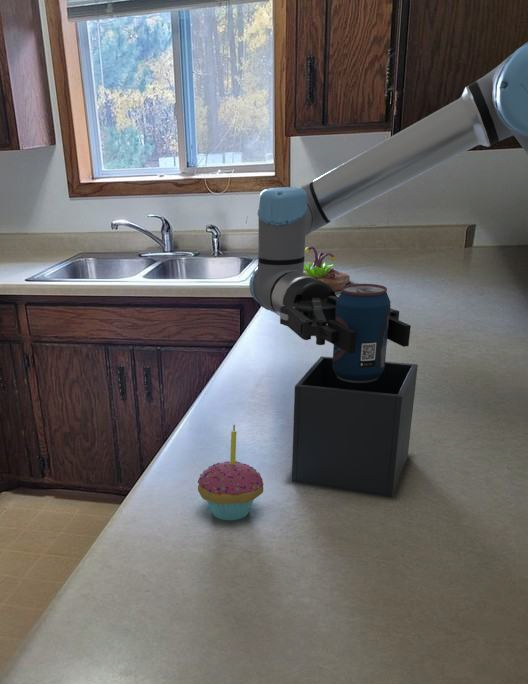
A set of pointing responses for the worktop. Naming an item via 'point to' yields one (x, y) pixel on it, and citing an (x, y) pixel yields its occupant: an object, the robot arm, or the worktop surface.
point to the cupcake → (230, 486)
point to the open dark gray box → (352, 428)
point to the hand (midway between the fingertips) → (380, 339)
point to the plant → (325, 271)
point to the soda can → (362, 332)
